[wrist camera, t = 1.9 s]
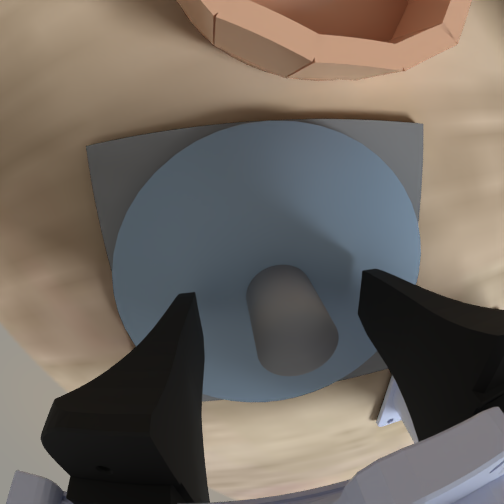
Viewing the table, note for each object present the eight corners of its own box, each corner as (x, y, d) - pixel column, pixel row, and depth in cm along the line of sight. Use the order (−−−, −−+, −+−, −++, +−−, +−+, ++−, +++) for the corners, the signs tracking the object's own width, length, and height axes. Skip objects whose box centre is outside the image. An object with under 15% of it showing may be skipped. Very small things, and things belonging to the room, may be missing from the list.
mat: (416, 123, 11) (423, 123, 11) (386, 362, 16) (390, 367, 16) (90, 144, 10) (85, 146, 10) (159, 397, 15) (158, 403, 15)
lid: (422, 123, 11) (487, 133, 7) (389, 367, 16) (419, 414, 13) (86, 146, 10) (34, 161, 6) (158, 403, 15) (152, 461, 12)
